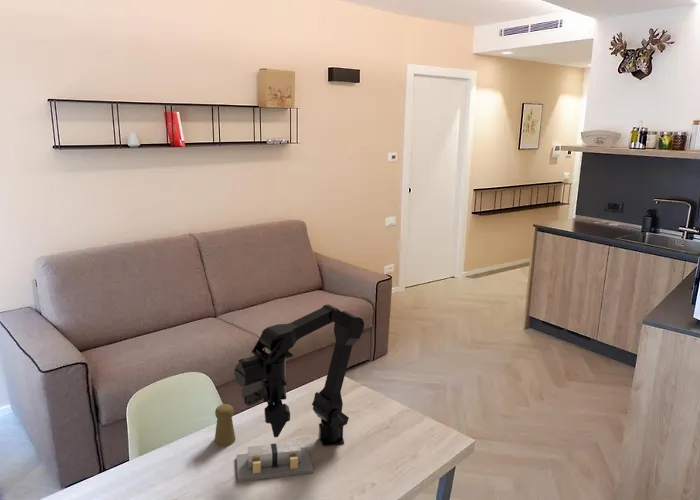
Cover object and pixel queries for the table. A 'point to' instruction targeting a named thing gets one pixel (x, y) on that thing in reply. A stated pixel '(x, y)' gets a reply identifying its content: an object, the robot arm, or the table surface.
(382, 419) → the table surface
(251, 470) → the plate
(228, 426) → the cork
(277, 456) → the air duct
